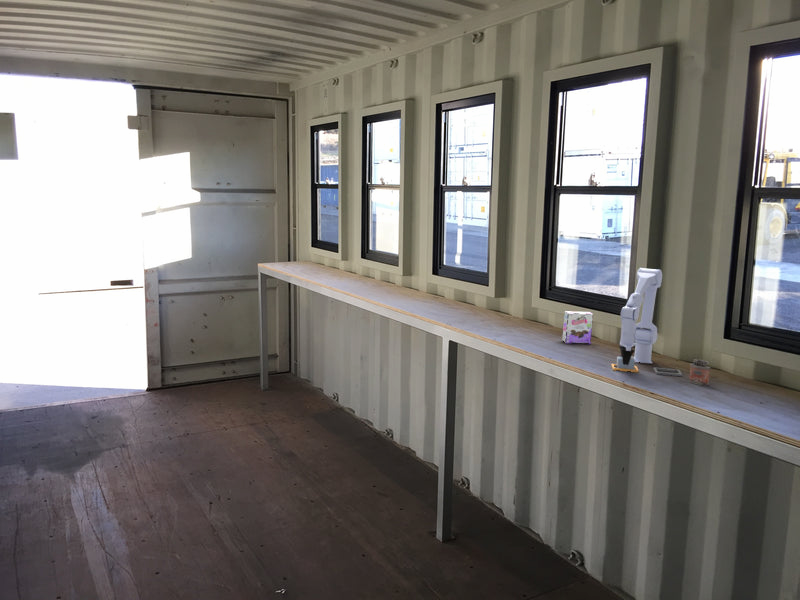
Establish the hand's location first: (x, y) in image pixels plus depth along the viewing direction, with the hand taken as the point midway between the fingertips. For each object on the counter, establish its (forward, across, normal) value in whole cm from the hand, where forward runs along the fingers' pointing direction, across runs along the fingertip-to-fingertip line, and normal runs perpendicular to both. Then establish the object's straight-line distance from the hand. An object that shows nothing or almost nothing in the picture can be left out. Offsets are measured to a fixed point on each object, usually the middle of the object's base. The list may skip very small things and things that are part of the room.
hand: (625, 363), depth 285 cm
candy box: (+3, +50, +19) cm, 54 cm away
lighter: (+3, -13, -28) cm, 31 cm away
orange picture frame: (+3, 0, 0) cm, 3 cm away
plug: (+2, 0, 0) cm, 2 cm away
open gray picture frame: (+3, 0, -18) cm, 18 cm away
